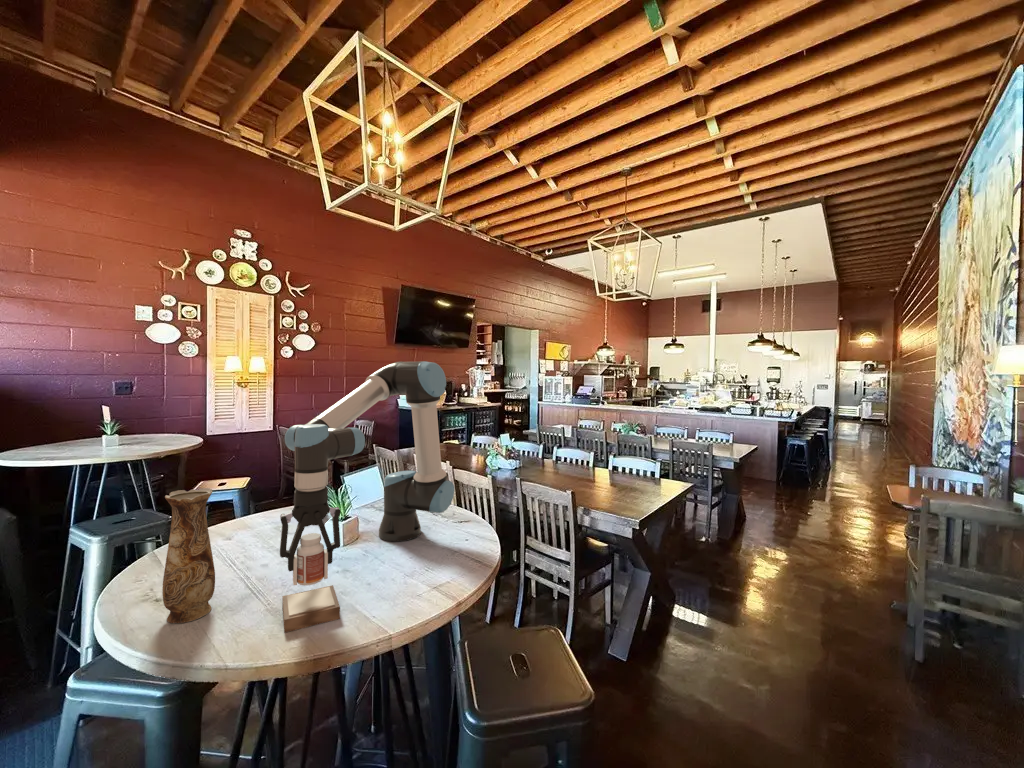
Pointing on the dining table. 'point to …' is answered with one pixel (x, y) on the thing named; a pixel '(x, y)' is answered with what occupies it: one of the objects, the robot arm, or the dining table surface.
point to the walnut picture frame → (310, 608)
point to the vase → (188, 558)
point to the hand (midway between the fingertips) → (310, 579)
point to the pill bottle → (310, 560)
